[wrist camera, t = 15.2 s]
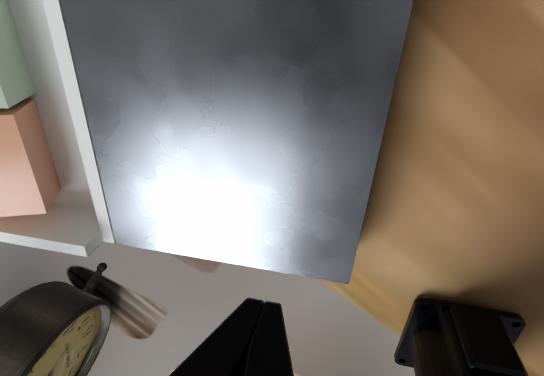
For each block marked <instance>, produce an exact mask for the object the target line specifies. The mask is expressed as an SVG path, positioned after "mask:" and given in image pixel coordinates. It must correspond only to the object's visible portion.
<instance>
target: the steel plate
mask: <svg viewBox="0 0 544 376" xmlns="http://www.w3.org/2000/svg"><path fill="white" fill-rule="evenodd" d="M60 1H61V6H62V10H63V15H64V19H65V23H66V28H67V32H68V37H69V41H70V45H71V50H72V54H73V58H74V63H75V67H76V72H77V76H78V80H79V85H80V89H81V93H82V98H83V102H84V107H85V111H86V115H87V120H88V124H89V129H90V133H91V137H92V142H93V146H94V150H95V155H96V159H97V164H98V168H99V172H100V177H101V181H102V185H103V190H104V194H105V199H106V203H107V207H108V212H109V216H110V221H111V225H112V229H113V234H114V238H115V242H116V244H121V245H127V246H132V247H138V248H144V249H150V250H155V251H161V252H167V253H172V254H178V255H184V256H190V257H195V258H201V259H207V260H213V261H218V262H224V263H230V264H236V265H242V266H247V267H253V268H259V269H265V270H270V271H276V272H282V273H288V274H294V275H299V276H305V277H311V278H316V279H322V280H328V281H334V282H339V283H345V284H349V282H350V277H351V273H352V269H353V264H354V260H355V255H356V251H357V247H358V242H359V238H360V234H361V229H362V225H363V220H364V216H365V212H366V207H367V203H368V199H369V194H370V190H371V185H372V181H373V177H374V172H375V168H376V163H377V159H378V155H379V150H380V146H381V142H382V137H383V133H384V128H385V124H386V120H387V115H388V111H389V107H390V102H391V98H392V93H393V89H394V85H395V80H396V76H397V72H398V67H399V63H400V58H401V54H402V50H403V45H404V41H405V37H406V32H407V28H408V23H409V19H410V15H411V10H412V6H413V2H414V0H60Z"/></svg>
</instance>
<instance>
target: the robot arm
mask: <svg viewBox="0 0 544 376" xmlns="http://www.w3.org/2000/svg"><path fill="white" fill-rule="evenodd" d="M422 305H425V306H422ZM525 325H526V324H525V321H524V319H523V318H522V316H520V315H518V314H514V313H508V312H502V311H497V310H491V309H485V308H479V307H474V306H468V305H462V304H456V303H451V302H445V301H439V300H433V299H428V298H418V299H416V300H415V301H414V303H413V306H412V309H411V311H410V314H409V317H408V319H407V322H406V325H405V327H404V330H403V333H402V335H401V338H400V341H399V343H398V346H397V349H396V351H395V354H394V357H395V362H396V363H397V364H399V365H403V366H409V367H413V368H414V371H415V376H528V373H527V371H526V369H525V367H524V365H523V363H522V361H521V359H520V357H519V355H518V353H517V351H516V349H515V347H514V345H513V344H514V343H515V341H516V340H517V338H518V336H519V335H520V333H521V332H522V330H523V329H524V327H525ZM169 376H294V374H293V369H292V363H291V357H290V352H289V346H288V341H287V335H286V329H285V324H284V318H283V312H282V307H281V304H280V303H276V302H271V301H265V302H263V301H262V300H260V299H255V298H247V299H246V300H244V301H243V302H242V303H241V304H240V305H239V307H237V309H235V310H234V311H233V312H232V313H231V314H230V316H228V317H227V319H225V320H224V321H223V322H222V324H220V325H219V326H218V327H217V328H216V329H215V330H214V331H213V332H212V333H211V334H210V335H209V336H208V337H207V338H206V339H205V340H204V341H203V342H202V343H201V344H200V345H199V346H198V347H197V348H196V349H195V350H194V351H193V352H192V354H190V355H189V356H188V357H187V358H186V359H185V360H184V361H183V362H182V363H181V364H180V365H179V366H178V367H177V368H176V369H175V370H174V371H173V372H172V373H171V374H170V375H169Z"/></svg>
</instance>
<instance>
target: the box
mask: <svg viewBox="0 0 544 376" xmlns="http://www.w3.org/2000/svg"><path fill="white" fill-rule="evenodd" d="M8 1H9V5H10V8H11V11H12V15H13V18H14V22H15V25H16V28H17V32H18V35H19V39H20V42H21V45H22V49H23V52H24V55H25V59H26V62H27V66H28V69H29V72H30V76H31V79H32V83H33V86H34V89H35V94H33V95H31V96H29V97H28V98H26V99H35V102H36V106H37V109H38V112H39V116H40V119H41V122H42V126H43V129H44V132H45V136H46V139H47V142H48V146H49V149H50V153H51V156H52V159H53V163H54V166H55V169H56V173H57V176H58V179H59V183H60V186H61V190H60V191H59V193H58V195H57V197H56V198H55V200H54V202H53V203H52V205H51V207H50V209H49V210H48V212H47V213H46V214H33V215H21V216H9V217H0V241H1V242H7V243H12V244H18V245H24V246H28V247H34V248H39V249H45V250H51V251H56V252H62V253H67V254H73V255H78V256H84V257H88V256H89V255H90V254H91V253H92V252H93V251H94V250H95V249H96V248H97V247H98V246H99V245H100V244H101V243H102V242H108V243H113V244H114V243H116V242H115V238H114V234H113V229H112V225H111V221H110V216H109V212H108V207H107V203H106V199H105V194H104V190H103V185H102V181H101V177H100V172H99V168H98V164H97V159H96V155H95V150H94V146H93V142H92V137H91V133H90V129H89V124H88V120H87V115H86V111H85V107H84V102H83V98H82V93H81V89H80V85H79V80H78V76H77V72H76V67H75V63H74V58H73V54H72V50H71V45H70V41H69V37H68V32H67V28H66V23H65V19H64V15H63V10H62V6H61V1H60V0H8Z"/></svg>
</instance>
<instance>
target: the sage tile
mask: <svg viewBox="0 0 544 376" xmlns="http://www.w3.org/2000/svg"><path fill="white" fill-rule="evenodd" d="M33 94H35V89H34V86H33V83H32V79H31V76H30V72H29V69H28V66H27V62H26V59H25V55H24V52H23V49H22V45H21V42H20V39H19V35H18V32H17V28H16V25H15V22H14V18H13V15H12V11H11V8H10V5H9V1H8V0H0V108H10V107H12V106H14V105H15V104H17V103H19V102H21V101H22V100H24V99H26V98H28V97H29V96H31V95H33Z"/></svg>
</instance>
